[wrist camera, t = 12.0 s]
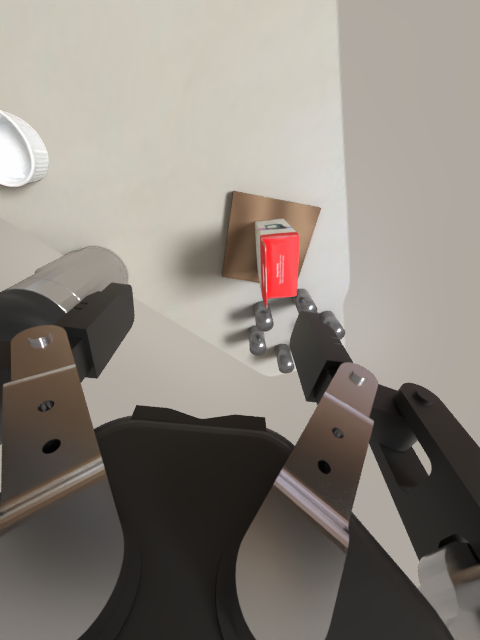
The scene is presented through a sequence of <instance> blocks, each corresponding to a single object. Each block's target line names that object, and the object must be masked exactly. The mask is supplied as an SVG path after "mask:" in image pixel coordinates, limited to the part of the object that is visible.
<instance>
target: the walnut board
mask: <svg viewBox="0 0 480 640" xmlns="http://www.w3.org/2000/svg"><path fill="white" fill-rule="evenodd" d="M320 210H321V208H319V207H315V206H310V205H304V204H299V203H294V202H289V201H284V200H279V199H273V198H268V197H263V196H258V195H253V194H247V193H242V192H237V191H234V192H233V199H232V207H231V214H230V221H229V229H228V236H227V243H226V250H225V258H224V265H223V272H222V277H227V278H233V279H240V280H246V281H253V282H259V283H260V281H259V275H258V270H257V254H256V235H255V222H256V221H266V220H274V219H284V220H285V221H286V222H287V223H288V224H289V225H290V226H291V227H292V228H293V229H294V230H295V231H296V232H297V233H298V234H299V235H300V244H299V264H298V277H299V274H300V271H301V268H302V265H303V262H304V259H305V256H306V253H307V250H308V247H309V244H310V241H311V238H312V234H313V231H314V228H315V225H316V222H317V219H318V216H319V213H320Z"/></svg>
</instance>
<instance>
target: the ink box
mask: <svg viewBox="0 0 480 640" xmlns="http://www.w3.org/2000/svg"><path fill="white" fill-rule="evenodd" d="M255 235H256V254H257V270H258V275H259V281H260V287H261V292H262V297H263V301H264V304H265V307H266V308H267V299H271V298H283V297H293V296H296V295H297V281H298V264H299V244H300V235H299V234H298V233H297V232H296V231H295V230H294V229H293V228H292V227H291V226H290V225H289V224H288V223H287V222H286V221H285V220H284V219H274V220H266V221H256V222H255Z"/></svg>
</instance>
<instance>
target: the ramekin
mask: <svg viewBox="0 0 480 640" xmlns="http://www.w3.org/2000/svg"><path fill="white" fill-rule="evenodd" d="M48 167H49V157H48V153H47V150H46V147H45V145H44V143H43V141H42V139H41V138H40V136H39V135H38V134H37V132H36V131H35V130H34V129H33V128H32V127H31V126H30V125H29V124H27V123H26V122H25V121H23V120H22V119H21V118H19V117H17V116H15V115H13V114H10V113H8V112H5V111H2V110H0V184H1V185H4V186H8V187H19V186H22V185H25V184H27V183H31V182H36V181H38V180H40V179H42V178H43V177H44V176H45V175H46V173H47V171H48Z"/></svg>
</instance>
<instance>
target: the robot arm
mask: <svg viewBox="0 0 480 640" xmlns="http://www.w3.org/2000/svg"><path fill="white" fill-rule="evenodd" d="M127 281H128V274H127V270H126V267H125V265H124V264H123V262H122V261H121V259H120V258H119V257H118V256H117V255H115V254H114V253H113V252H111V251H109V250H107V249H105V248H102V247H96V246H92V247H87V248H84V249H82V250H80V251H73V252H71V253H69V254H67V255H65V256H63V257H61V258H59V259H57V260H55V261H53V262H51V263H49V264H47V265H45V266H43V267H41V268H39V269H37V270H36V271H35V274H34V275H32V276H30V277H28V278H27V279H25V280H23V281H21V282H19V283H18V284H15V285H13V286H11V287H10V288H8V289H6V290H4V291H2V292H0V445H1V444H2V473H1V474H2V475H1V477H2V478H1V481H2V482H1V493H0V640H480V447H479V446H478V445H477V444H476V443H475V441H474V440H473V439H472V438H471V437H470V436H469V434H468V433H467V432H466V430H465V429H464V428H463V427H462V426H461V424H460V423H459V422H458V421H457V419H456V418H455V417H454V416H453V415H452V413H451V412H450V411H449V410H448V409H447V407H446V406H445V405H444V404H443V402H442V401H441V400H440V399H439V398H438V397H437V396H436V395H435V394H433V393H432V392H431V391H429V390H427V389H426V388H424V387H422V386H419V385H416V384H413V383H404V384H403V385H402V386H401V387H400V389H399V390H398V391H397V390H394V389H391V388H388V387H385V386H382V385H379V384H378V381H377V379H376V377H375V376H374V375H373V374H372V373H371V372H370V371H369V370H367V369H366V368H364V367H362V366H360V365H358V364H355V363H353V361H352V360H351V358H350V356H349V355H348V353H347V352H346V350H345V348H344V346H343V345H342V343H341V341H340V340H339V339H338V336H337V335H336V333H335V331H334V330H333V329H332V328H330V327H329V326H328V325H327V324H324V323H323V321H322V320H321V318H320V316H319V314H318V313H317V312H310V311H303V310H302V311H301V312H300V313H299V315H298V318H297V321H296V324H295V326H294V329H293V332H292V335H291V339H290V348H291V352H292V355H293V358H294V362H295V365H296V369H297V372H298V375H299V378H300V382H301V385H302V389H303V392H304V395H305V398H306V401H309V402H317V405H318V406H317V408H316V409H315V411H314V413H313V415H312V417H311V418H310V420H309V422H308V424H307V426H306V427H305V429H304V431H303V433H302V434H301V436H300V438H299V440H298V441H297V443H296V445H295V446H294V445H293V444H292V443H291V442H290V441H288V440H287V439H286V438H285V437H283V436H281V435H280V434H278V433H277V432H274V431H272V430H270V429H267V428H266V422H265V418H264V417H254V416H243V415H229V416H222V417H215V418H208V419H199V418H196V417H193V416H190V415H187V414H184V413H181V412H178V411H176V410H173V409H169V408H160V407H150V406H139V405H136V408H135V410H134V412H133V415H132V416H127V417H123V418H119V419H116V420H113V421H110V422H108V423H105V424H103V425H101V426H99V427H97V428H95V429H93V425H92V421H91V418H90V414H89V411H88V407H87V404H86V400H85V397H84V393H83V390H82V386H81V382H82V381H83V379H84V378H85V377H88V378H98V377H99V375H100V374H101V372H102V370H103V369H104V368H105V366H106V365H107V363H108V362H109V360H110V359H111V357H112V356H113V354H114V353H115V351H116V350H117V348H118V347H119V345H120V344H121V342H122V341H123V339H124V338H125V336H126V335H127V333H128V331H129V330H130V329H131V327H132V325H133V322H134V305H133V293H132V287H131V285H128V284H127ZM417 440H418V441H419V443H420V444H421V446H422V447H423V449H424V451H425V452H426V454H427V456H428V457H429V459H430V461H431V466H432V471H431V474H430V476H428V474H427V472H426V470H425V469H424V467H423V465H422V464H421V462H420V460H419V458H418V456H417V455H416V453H415V451H414V450H413V448H412V445H413V444H414V443H415V442H416V441H417ZM368 444H370V446H371V449H372V451H373V454H374V456H375V458H376V461H377V463H378V465H379V468H380V470H381V472H382V475H383V477H384V479H385V482H386V484H387V486H388V489H389V491H390V493H391V496H392V498H393V500H394V503H395V505H396V507H397V510H398V512H399V514H400V517H401V519H402V521H403V524H404V526H405V529H406V531H407V533H408V536H409V538H410V540H411V543H412V545H413V547H414V550H415V552H416V554H417V557H418V559H419V561H420V562H419V565H418V576H419V581H420V586H419V587H418V588H416V586H415V585H414V584H413V583H412V581H411V580H410V579H409V578H408V577H407V576H406V575H405V573H404V572H403V571H402V570H401V569H400V567H399V566H398V565H397V564H396V563H395V562H394V561H393V559H392V558H391V557H390V556H389V555H388V554H387V552H386V551H385V550H384V549H383V548H382V547H381V545H380V544H379V543H378V542H377V541H376V540H375V538H374V537H373V536H372V535H371V534H370V533H369V531H368V530H367V529H366V528H365V527H364V526H363V525H362V523H361V522H360V521H359V520H358V519H357V517H356V516H355V515H354V514H353V513H352V508H353V503H354V500H355V496H356V491H357V488H358V484H359V480H360V476H361V472H362V468H363V464H364V460H365V456H366V452H367V448H368Z"/></svg>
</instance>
